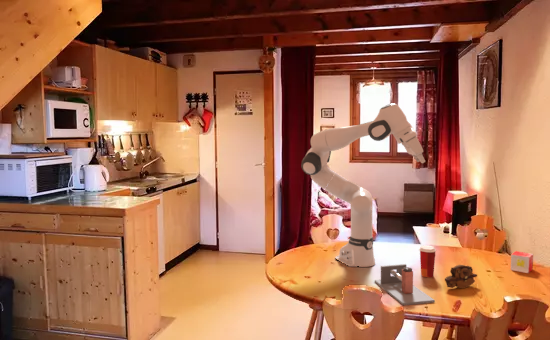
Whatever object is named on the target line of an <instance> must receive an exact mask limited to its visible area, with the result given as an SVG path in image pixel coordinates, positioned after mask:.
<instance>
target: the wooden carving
mask: <svg viewBox="0 0 550 340" xmlns="http://www.w3.org/2000/svg"><path fill="white" fill-rule="evenodd" d="M450 274H451V275H447V276H446V277H445V278H444V282H445V283H446V287H447V288H450V289H453V288H455V287H457V288H460V289H465V288H469V287H470V286H472V285H473V284H474V283H475V282H476V281H475V279H474V278H476V277H478V274H475V273H473V267H472V266H470V265H464V264H458V265H455V266H454V267H450Z"/></svg>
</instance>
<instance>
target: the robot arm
mask: <svg viewBox="0 0 550 340" xmlns="http://www.w3.org/2000/svg"><path fill="white" fill-rule="evenodd" d="M391 135H392V136H393V137H394V139H395V140H396V142H397V144H398V145H399V144H401V145H402V146H403V147H404V149H405V151H406V152H407V154H408V155H411V156H412V157H413V158H414V160H415V161H416V162H417V163H419V162H420V163H421V164H424V163H426V160H425V157H424V156H423V153H424V149H423V146H422V145H421V142H420V141H419V139H418V137H417V136H418V134H417V132H416V131H415V130H414V127H413V126H412V125H411V123H410V122H409V121H408V119H407V116H406V115H405V113H404V111H403V110H402V109H401V108H400V106H399V105H398V104H397V103H389V104H387V105H384V106H382V107H381V108H380V109H379V111H378V114H377V115H376V116H375V118H374V119H373V121H368V122H364V123H361V124H357V125H350V126H340V127H339V126H338V127H333V128H328V129H324V130H322V131H321V130H320V131H318V132H316V133H315V134H313V135H312V136H311V138H310V146H311V147H310V149H308V150H307V152H306V154H305V156H304V157H303V158H302V160H301V164H300V165H301V166H300V167H301V169H302V171H303V172H304V173H305V174H307V175H309V176H310V178H311V180H312V181H313V182H314V183H315V184H316V185H317V186H318V187H320V188H321V189H323V190H324V191H326V192H328V193H330V194H331V195H332V196H334V197H335V198H337V199H339V200H342V201H344V202H347V203H348V204H349V205H350V236H346V238H347V240H348V242H347V243H346V244H345V245H343V246H342V247H340V249H339V254H338V255H336V256H335V257H334V259H335V258H336V259H338V260H339V261H341V262H343V263H345V264H346V266H347V265H349V266H348V267H357V266H359V268H366V267H367V268H368V267H372V266H374V265H376V259H375V255H374V247H373V246H374V236H373V195H372V193H371V192H370V191H369V190H368V189H366V188H364V187H362V186H361V185H358V184H357V183H355V182H353V181H351V180H349V179H347V178H346V177H344V176H343V175H341V174H339V173H338V172H336V171H335V170H333V169H331V168H330V167H329V165H328V163H330V160H331V159H330V158H331V154H332V152H334V151H339V150H341V149H343V148H346V147H348V146H349V145H351V144H353V142H355V141H356V140H358V139H360V138H363V137H367V136H369V137H370V139H372V140H373V141H376V142H381V141H384V140H385V139H387V138H388V137H390V136H391ZM336 259H335V260H336ZM339 261H338V262H339ZM341 262H340V263H341ZM343 263H342V264H343ZM345 264H344V265H345Z"/></svg>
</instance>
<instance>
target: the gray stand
mask: <svg viewBox="0 0 550 340" xmlns="http://www.w3.org/2000/svg"><path fill="white" fill-rule="evenodd" d="M404 267H407V264H406V263H402V264H389V265H380V279H374V283H375V284H376V285H378V286H379V287H380V288H381V289H382V288H383V291H385V292H386V293H387V294H388V293H389V294H388V295H390V296H391V297H392V298H394V300H396V301H397V302H398V303H399V304H401V306H411V305H420V304H421V305H424V304H433V303H435V302H436V301H435V298H432V297H431V296H430V295H428V293H427V294H426V292H424V291H422V290H421V289H420V288H418V287H417V286H415V285H414V284H413V293H409V294H405V293H404V292H402V281H400V280H399V279H398V278H396V277H395V276H393V275H392V274H391V270H394V271H395V272H397V273H398V274H400V275H401V276H402V270H403V268H404Z"/></svg>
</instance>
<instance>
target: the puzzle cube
mask: <svg viewBox="0 0 550 340" xmlns="http://www.w3.org/2000/svg"><path fill="white" fill-rule="evenodd" d="M510 257H511V258H510V270H511V271H515V272H520V273H524V274H525V273H526V274H530V273H531V271H533V269H534V253H528V252H525V251H524V252H523V251H517V250H516V251H514V252H513V253H511V254H510Z"/></svg>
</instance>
